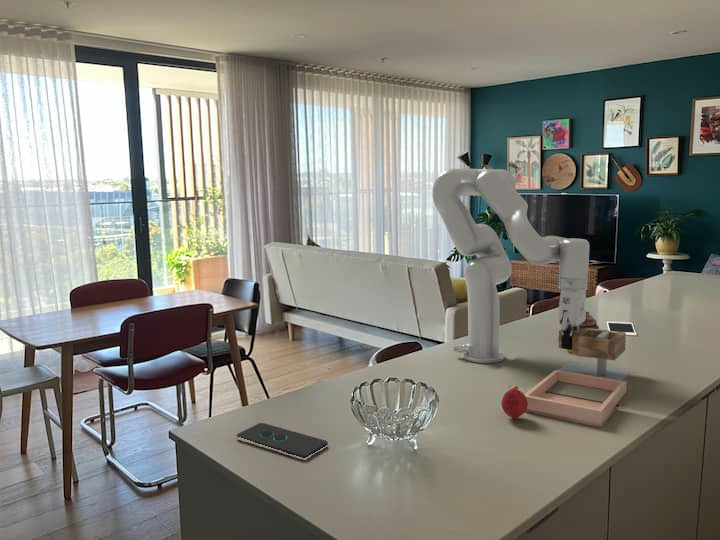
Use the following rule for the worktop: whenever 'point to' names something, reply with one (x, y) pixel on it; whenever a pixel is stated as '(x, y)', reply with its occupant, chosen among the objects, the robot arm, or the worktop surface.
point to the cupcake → (588, 322)
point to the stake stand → (596, 367)
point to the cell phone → (622, 328)
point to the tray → (575, 399)
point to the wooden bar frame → (597, 343)
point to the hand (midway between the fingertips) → (569, 346)
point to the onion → (514, 403)
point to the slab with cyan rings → (283, 439)
